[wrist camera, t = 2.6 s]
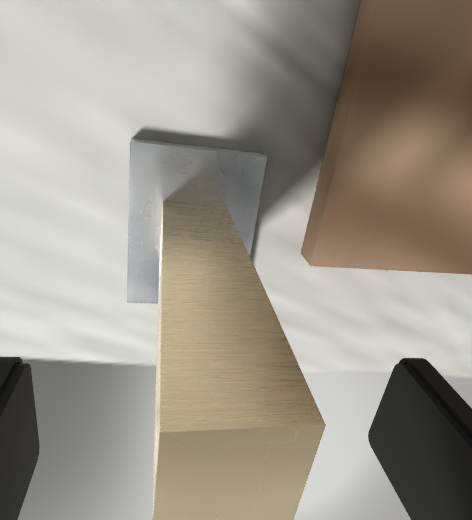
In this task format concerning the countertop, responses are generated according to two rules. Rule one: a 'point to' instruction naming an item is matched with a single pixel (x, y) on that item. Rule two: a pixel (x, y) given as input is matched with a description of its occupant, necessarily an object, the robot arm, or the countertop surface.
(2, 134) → the countertop surface
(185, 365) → the trowel
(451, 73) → the board
